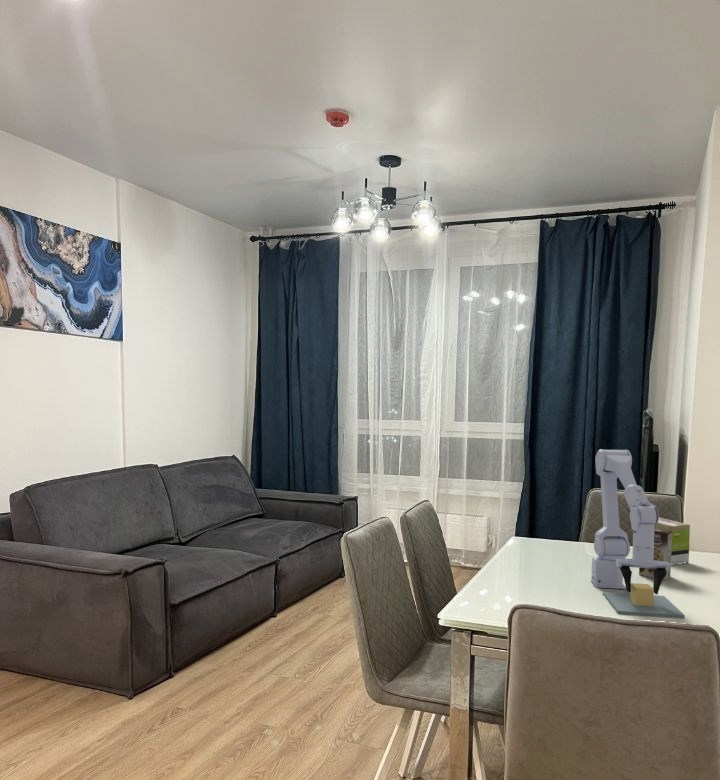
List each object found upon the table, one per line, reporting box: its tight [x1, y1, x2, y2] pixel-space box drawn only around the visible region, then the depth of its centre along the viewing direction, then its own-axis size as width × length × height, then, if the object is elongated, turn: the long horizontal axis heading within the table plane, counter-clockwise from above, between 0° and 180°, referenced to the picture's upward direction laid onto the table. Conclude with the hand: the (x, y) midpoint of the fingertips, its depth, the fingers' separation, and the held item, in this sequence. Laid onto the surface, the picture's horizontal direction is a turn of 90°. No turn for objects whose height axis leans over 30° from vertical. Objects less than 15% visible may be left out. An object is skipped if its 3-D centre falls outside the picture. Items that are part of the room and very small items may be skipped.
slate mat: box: [602, 591, 686, 619], centre depth 196 cm, size 18×18×1 cm
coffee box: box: [638, 528, 672, 581], centre depth 229 cm, size 9×6×16 cm
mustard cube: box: [630, 582, 655, 606], centre depth 196 cm, size 5×5×5 cm
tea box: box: [654, 517, 691, 565], centre depth 253 cm, size 15×10×15 cm, turn 25°
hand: (641, 592), depth 196 cm, fingers open, 7 cm apart
